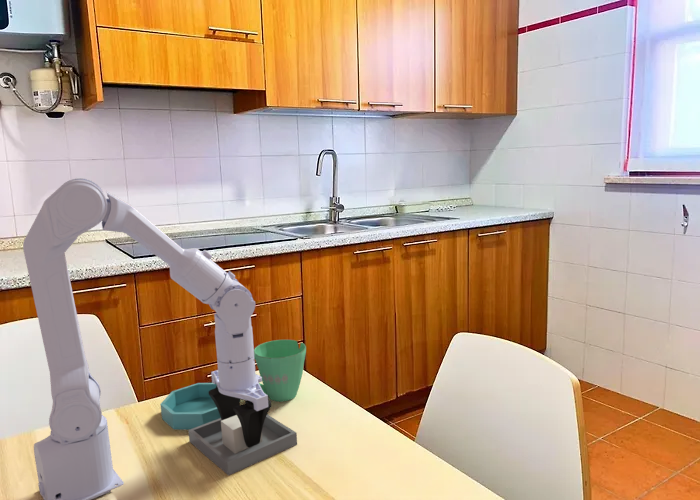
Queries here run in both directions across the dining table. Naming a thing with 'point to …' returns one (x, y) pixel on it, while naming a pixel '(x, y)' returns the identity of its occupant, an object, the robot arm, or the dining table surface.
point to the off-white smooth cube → (233, 434)
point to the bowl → (190, 407)
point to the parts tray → (212, 447)
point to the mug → (280, 368)
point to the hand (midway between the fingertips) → (242, 436)
